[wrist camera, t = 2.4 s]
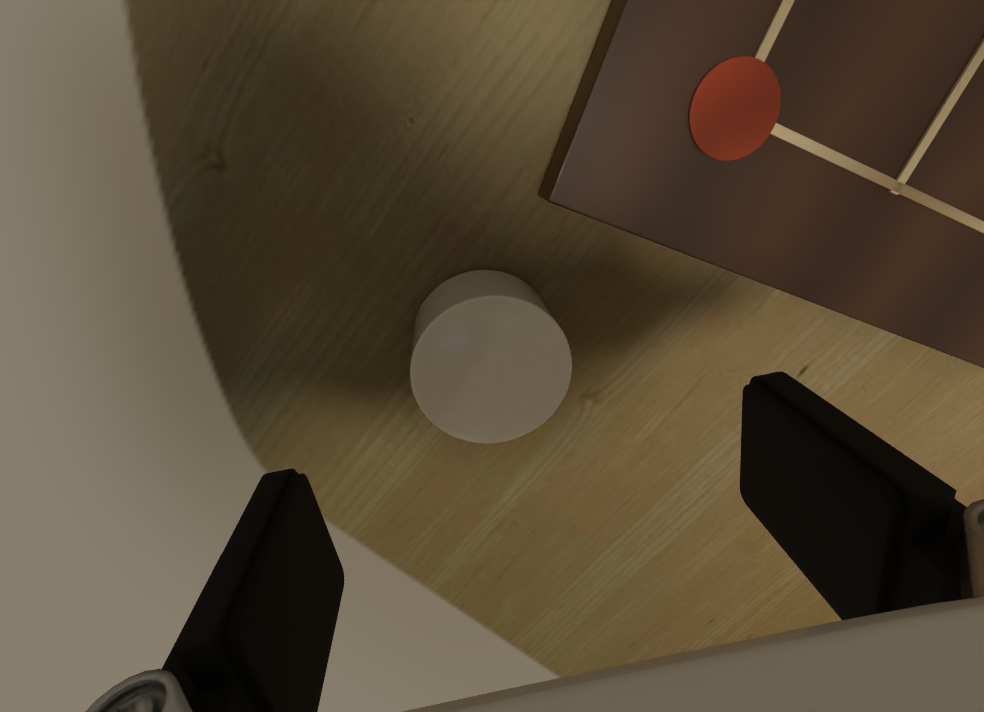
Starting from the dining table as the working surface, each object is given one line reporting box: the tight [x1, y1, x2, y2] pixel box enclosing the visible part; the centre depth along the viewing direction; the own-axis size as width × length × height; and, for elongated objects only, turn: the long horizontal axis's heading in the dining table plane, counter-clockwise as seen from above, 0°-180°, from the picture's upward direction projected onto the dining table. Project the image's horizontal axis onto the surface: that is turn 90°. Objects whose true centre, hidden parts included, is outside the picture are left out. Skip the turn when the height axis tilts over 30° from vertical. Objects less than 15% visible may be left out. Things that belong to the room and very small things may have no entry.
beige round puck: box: [410, 270, 572, 443], centre depth 16 cm, size 5×5×3 cm
